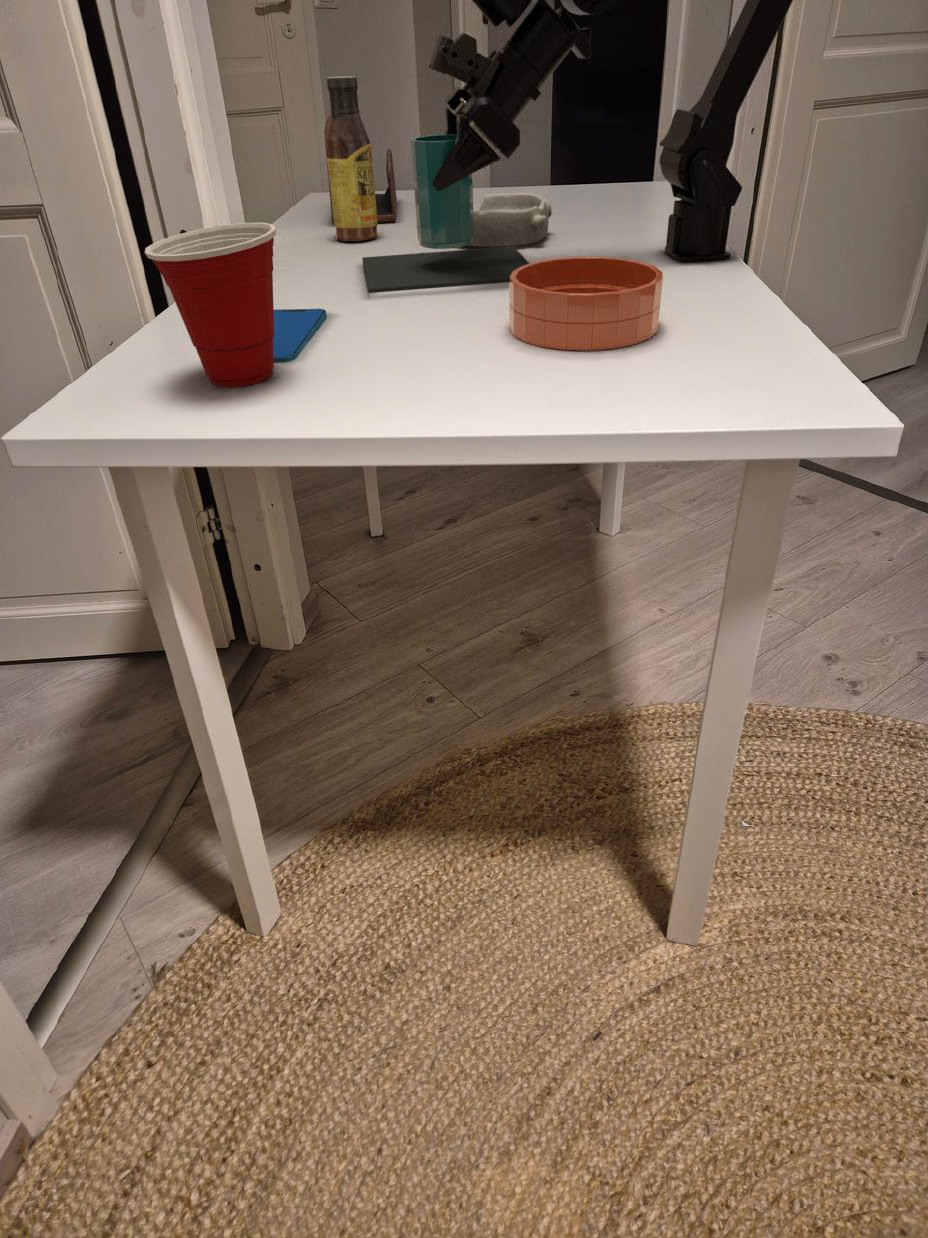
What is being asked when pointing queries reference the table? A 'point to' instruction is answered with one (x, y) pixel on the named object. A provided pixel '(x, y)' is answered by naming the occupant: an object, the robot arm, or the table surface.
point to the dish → (510, 220)
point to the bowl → (585, 303)
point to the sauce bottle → (350, 164)
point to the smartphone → (294, 331)
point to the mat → (441, 269)
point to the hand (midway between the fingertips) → (431, 182)
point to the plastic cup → (224, 297)
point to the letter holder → (383, 201)
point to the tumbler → (440, 197)
